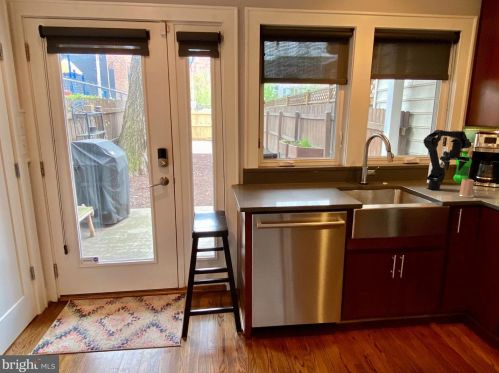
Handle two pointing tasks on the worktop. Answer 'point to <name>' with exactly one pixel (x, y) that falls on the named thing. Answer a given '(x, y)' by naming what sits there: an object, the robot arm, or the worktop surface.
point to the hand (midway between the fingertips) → (452, 170)
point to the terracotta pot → (466, 187)
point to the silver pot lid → (465, 196)
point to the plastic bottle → (462, 170)
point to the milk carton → (431, 168)
